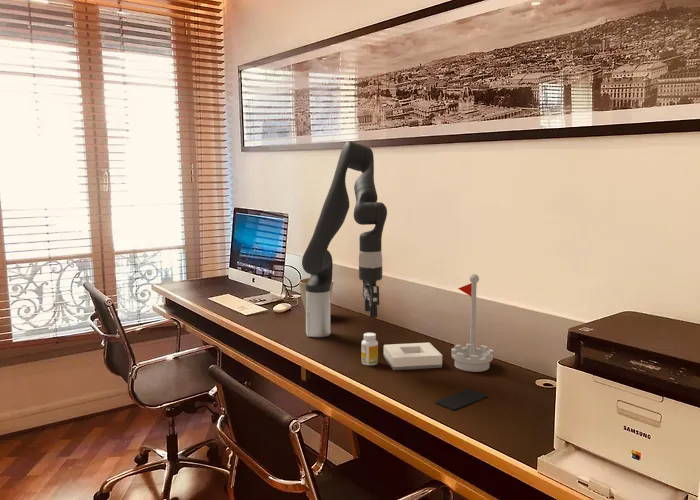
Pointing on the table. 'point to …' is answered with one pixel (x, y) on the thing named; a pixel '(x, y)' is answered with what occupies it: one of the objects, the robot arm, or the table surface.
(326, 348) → the table surface
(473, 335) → the flag stand
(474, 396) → the smartphone
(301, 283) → the plant pot
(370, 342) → the supplement bottle
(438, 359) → the socket block
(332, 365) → the table surface
